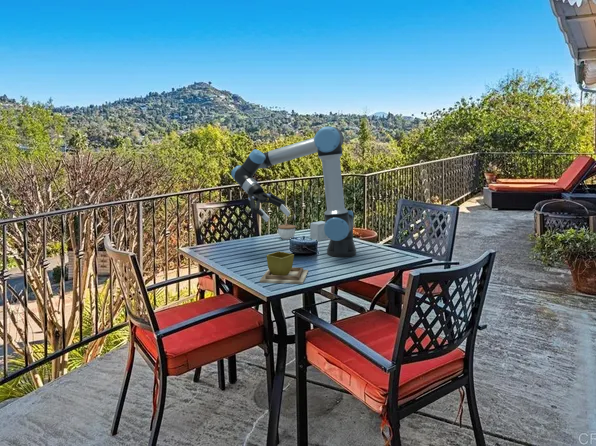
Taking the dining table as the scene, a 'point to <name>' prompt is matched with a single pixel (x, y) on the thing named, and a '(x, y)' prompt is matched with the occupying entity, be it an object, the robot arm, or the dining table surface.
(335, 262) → the dining table surface
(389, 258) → the dining table surface
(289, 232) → the lidded jar
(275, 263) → the flower pot
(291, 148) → the robot arm
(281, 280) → the birch tray
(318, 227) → the skincare box
